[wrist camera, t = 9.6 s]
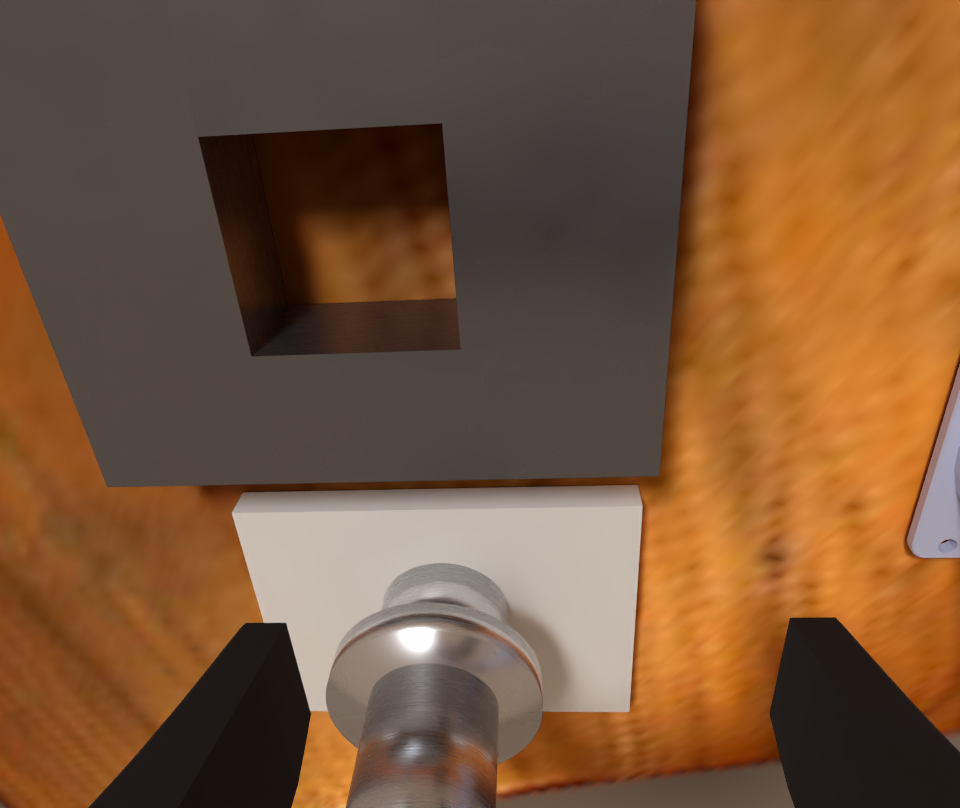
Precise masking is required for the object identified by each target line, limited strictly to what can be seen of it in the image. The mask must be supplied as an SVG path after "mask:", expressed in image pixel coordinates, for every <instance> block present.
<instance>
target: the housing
mask: <svg viewBox="0 0 960 808" xmlns="http://www.w3.org/2000/svg"><path fill="white" fill-rule="evenodd" d="M695 9H696V0H0V215H1V217H2V220H3V222H4V225H5V227H6V230H7V232H8V235H9V237H10V240H11V243H12V245H13V248H14V250H15V253H16V255H17V258H18V260H19V263H20V265H21V268H22V271H23V273H24V276H25V278H26V281H27V283H28V286H29V288H30V291H31V293H32V296H33V299H34V301H35V304H36V306H37V309H38V311H39V314H40V316H41V319H42V322H43V324H44V327H45V329H46V332H47V334H48V337H49V339H50V342H51V344H52V347H53V350H54V352H55V355H56V357H57V360H58V362H59V365H60V367H61V370H62V372H63V375H64V378H65V380H66V383H67V385H68V388H69V390H70V393H71V395H72V398H73V400H74V403H75V406H76V408H77V411H78V413H79V416H80V418H81V421H82V423H83V426H84V428H85V431H86V434H87V436H88V439H89V441H90V444H91V446H92V449H93V451H94V454H95V457H96V459H97V462H98V464H99V467H100V469H101V472H102V474H103V477H104V479H105V482H106V485H107V487H145V486H196V485H246V484H296V483H347V482H397V481H447V480H498V479H548V478H598V477H648V476H660V463H661V450H662V437H663V424H664V411H665V398H666V385H667V372H668V359H669V346H670V333H671V320H672V307H673V294H674V281H675V268H676V255H677V242H678V229H679V216H680V203H681V190H682V177H683V164H684V151H685V138H686V125H687V112H688V99H689V86H690V73H691V60H692V48H693V35H694V22H695ZM439 123H442V129H443V141H444V153H445V165H446V177H447V190H448V202H449V214H450V226H451V238H452V250H453V263H454V275H455V287H456V299H433V300H406V301H380V302H354V303H327V304H301V305H287V301H286V296H285V291H284V286H283V282H282V277H281V272H280V267H279V262H278V257H277V253H276V248H275V243H274V238H273V233H272V229H271V224H270V219H269V214H268V209H267V204H266V200H265V195H264V190H263V185H262V180H261V175H260V171H259V166H258V161H257V156H256V151H255V146H254V142H253V137H252V134H258V133H276V132H294V131H312V130H330V129H348V128H366V127H384V126H402V125H421V124H439Z"/></svg>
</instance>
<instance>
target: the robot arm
mask: <svg viewBox="0 0 960 808" xmlns="http://www.w3.org/2000/svg"><path fill="white" fill-rule="evenodd" d="M948 539H949V540H948ZM944 540H948V541H946V542H945V543H942V544H940V543H941V542H943V541H944ZM907 545H908V546H909V548H910V549H911V551H912V552H913V554H914V555H916V556H918V557H921V558H960V365H959V368H958V372H957V375H956V378H955V382H954V385H953V388H952V392H951V395H950V398H949V402H948V405H947V408H946V412H945V415H944V418H943V421H942V425H941V428H940V431H939V435H938V438H937V441H936V445H935V448H934V451H933V455H932V458H931V461H930V465H929V468H928V471H927V474H926V478H925V481H924V484H923V488H922V491H921V494H920V498H919V501H918V504H917V508H916V511H915V514H914V517H913V521H912V524H911V527H910V531H909V534H908V537H907ZM310 716H311V712H310V709H309V705H308V701H307V698H306V694H305V690H304V687H303V683H302V679H301V676H300V672H299V668H298V665H297V661H296V657H295V654H294V650H293V646H292V643H291V639H290V635H289V632H288V628H287V624H286V623H245V624H244V625H243V626H242V627H241V628H240V629H239V631H238V632H237V633H236V634H235V636H234V637H233V638H232V639H231V641H230V642H229V643H228V644H227V646H226V647H225V648H224V649H223V651H222V652H221V653H220V654H219V656H218V657H217V658H216V659H215V661H214V662H213V663H212V664H211V666H210V667H209V668H208V669H207V671H206V672H205V673H204V674H203V676H202V677H201V678H200V679H199V681H198V682H197V683H196V684H195V686H194V687H193V688H192V689H191V690H190V692H189V693H188V694H187V695H186V697H185V698H184V699H183V700H182V702H181V703H180V704H179V705H178V706H177V708H176V709H175V710H174V711H173V712H172V714H171V715H170V716H169V717H168V718H167V719H166V721H165V722H164V723H163V724H162V725H161V727H160V728H159V729H158V730H157V731H156V732H155V734H154V735H153V736H152V737H151V738H150V739H149V741H148V742H147V743H146V744H145V745H144V747H143V748H142V749H141V750H140V751H139V752H138V754H137V755H136V756H135V757H134V758H133V759H132V760H131V762H130V763H129V764H128V765H127V766H126V767H125V768H124V770H123V771H122V772H121V773H120V774H119V775H118V776H117V777H116V778H115V779H114V780H113V781H112V783H111V784H110V785H109V786H108V787H107V788H106V789H105V790H104V791H103V792H102V793H101V795H100V796H99V797H98V798H97V799H96V800H95V801H94V802H93V803H92V804H91V805H90V807H89V808H291V806H292V803H293V799H294V796H295V793H296V789H297V786H298V781H299V776H300V771H301V765H302V760H303V755H304V750H305V744H306V739H307V733H308V727H309V722H310ZM770 717H771V721H772V725H773V729H774V734H775V738H776V742H777V746H778V750H779V755H780V759H781V762H782V766H783V770H784V774H785V778H786V782H787V785H788V789H789V792H790V795H791V797H792V801H793V803H794V806H795V808H960V752H959V751H958V750H957V749H956V748H955V747H954V746H953V745H952V744H951V743H950V742H949V740H948V739H947V738H946V737H945V736H944V735H943V734H942V733H941V732H940V731H939V730H938V729H937V728H936V727H935V726H934V725H933V724H932V723H931V722H930V721H929V720H928V719H927V717H926V716H925V715H924V714H923V713H922V712H921V711H920V710H919V709H918V708H917V707H916V706H915V705H914V704H913V702H912V701H911V700H910V699H909V698H908V697H907V696H906V695H905V694H904V693H903V692H902V690H901V689H900V688H899V687H898V686H897V685H896V684H895V683H894V682H893V681H892V679H891V678H890V677H889V676H888V675H887V674H886V673H885V672H884V671H883V669H882V668H881V667H880V666H879V665H878V664H877V663H876V662H875V661H874V659H873V658H872V657H871V656H870V655H869V654H868V653H867V652H866V651H865V649H864V648H863V647H862V646H861V645H860V644H859V643H858V642H857V640H856V639H855V638H854V637H853V636H852V635H851V634H850V633H849V631H848V630H847V629H846V628H845V627H844V626H843V625H842V624H841V623H840V622H839V621H838V620H837V619H836V618H790V621H789V625H788V630H787V635H786V639H785V644H784V649H783V654H782V658H781V663H780V668H779V672H778V677H777V682H776V686H775V691H774V696H773V700H772V705H771V710H770Z"/></svg>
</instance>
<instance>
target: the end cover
mask: <svg viewBox="0 0 960 808" xmlns="http://www.w3.org/2000/svg"><path fill="white" fill-rule="evenodd" d="M326 705H327V709H328V712H329V715H330V717H331V719H332V721H333V723H334V725H335V726H336V727H337V729H338V730H339V731H340V733H341V734H342V735H343V736H344V737H345V738H346V739H347V740H348V741H349V742H350V743H352V744H353V745H354V746H355V747H357V748H358V752H357V757H356V762H355V767H354V771H353V776H352V781H351V786H350V790H349V795H348V800H347V804H346V808H496V787H497V764H500V763H502V762H504V761H506V760H508V759H510V758H512V757H513V756H515V755H516V754H518V753H519V752H520V751H522V750H523V749H524V748H525V747H526V746H527V745H528V744H529V743H530V742H531V740H532V739H533V738H534V736H535V735H536V733H537V731H538V729H539V727H540V724H541V720H542V715H543V692H542V673H541V667H540V664H539V661H538V658H537V656H536V655H535V653H534V651H533V649H532V648H531V647H530V645H529V644H528V643H527V641H526V640H525V639H524V638H523V637H522V636H521V635H520V634H519V633H518V632H516V631H515V630H514V629H512V628H511V627H510V626H509V625H508V604H507V601H506V598H505V596H504V594H503V592H502V591H501V589H500V588H499V587H498V586H497V585H496V584H495V583H494V582H493V581H492V580H491V579H490V578H488V577H487V576H485V575H484V574H482V573H480V572H478V571H476V570H474V569H471V568H469V567H466V566H462V565H457V564H450V563H432V564H425V565H421V566H417V567H414V568H412V569H409V570H407V571H406V572H404V573H402V574H401V575H399V576H398V577H397V578H396V579H395V580H394V581H393V582H392V583H391V584H390V585H389V587H388V588H387V590H386V592H385V595H384V599H383V603H382V608H381V611H379V612H376V613H373V614H372V615H370V616H368V617H366V618H364V619H363V620H361V621H360V622H359V623H357V624H356V625H355V626H353V627H352V628H351V629H350V630H349V631H348V632H347V633H346V635H345V636H344V637H343V639H342V640H341V642H340V644H339V646H338V648H337V650H336V653H335V657H334V660H333V664H332V668H331V671H330V675H329V679H328V683H327V687H326Z"/></svg>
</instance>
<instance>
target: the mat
mask: <svg viewBox="0 0 960 808" xmlns="http://www.w3.org/2000/svg"><path fill="white" fill-rule="evenodd" d="M642 508H643V505H642V501H641V496H640V492H639V488H638V485H604V486H552V487H499V488H447V489H394V490H342V491H290V492H243V493H242V495H241V497H240V499H239V501H238V502H237V504H236V506H235V508H234V510H233V512H232V515H233V519H234V522H235V526H236V529H237V532H238V536H239V539H240V543H241V546H242V549H243V553H244V556H245V560H246V563H247V566H248V570H249V573H250V577H251V580H252V584H253V587H254V590H255V594H256V597H257V601H258V604H259V607H260V611H261V614H262V618H263V621H264V623H286V624H287V628H288V632H289V635H290V639H291V643H292V646H293V650H294V654H295V657H296V661H297V665H298V668H299V672H300V676H301V679H302V683H303V687H304V690H305V694H306V698H307V701H308V705H309V709H310V711H328V709H327V705H326V687H327V683H328V679H329V675H330V671H331V668H332V664H333V660H334V657H335V653H336V650H337V648H338V646H339V644H340V642H341V640H342V639H343V637H344V636H345V635H346V633H347V632H348V631H349V630H350V629H351V628H352V627H353V626H355V625H356V624H357V623H359V622H360V621H361V620H363V619H364V618H366V617H368V616H370V615H372V614H373V613H376V612H379V611H381V608H382V603H383V599H384V595H385V592H386V590H387V588H388V587H389V585H390V584H391V583H392V582H393V581H394V580H395V579H396V578H397V577H398V576H399V575H401V574H402V573H404V572H406V571H407V570H409V569H412V568H414V567H417V566H421V565H425V564H432V563H450V564H457V565H462V566H466V567H469V568H471V569H474V570H476V571H478V572H480V573H482V574H484V575H485V576H487V577H488V578H490V579H491V580H492V581H493V582H494V583H495V584H496V585H497V586H498V587H499V588H500V589H501V591H502V592H503V594H504V596H505V598H506V601H507V604H508V625H509V626H510V627H511V628H512V629H514V630H515V631H516V632H518V633H519V634H520V635H521V636H522V637H523V638H524V639H525V640H526V641H527V643H528V644H529V645H530V647H531V648H532V649H533V651H534V653H535V655H536V656H537V658H538V661H539V664H540V667H541V673H542V692H543V712H629V710H630V695H631V679H632V664H633V648H634V632H635V617H636V601H637V586H638V570H639V555H640V539H641V524H642Z"/></svg>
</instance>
